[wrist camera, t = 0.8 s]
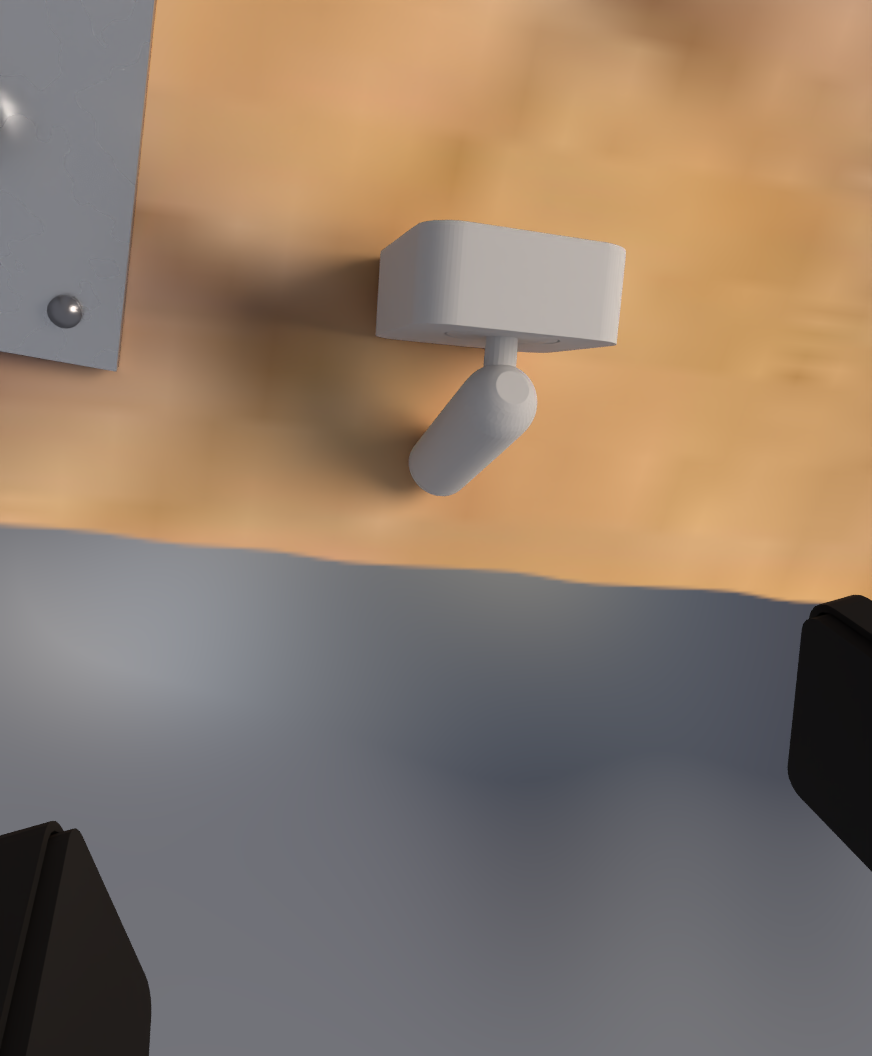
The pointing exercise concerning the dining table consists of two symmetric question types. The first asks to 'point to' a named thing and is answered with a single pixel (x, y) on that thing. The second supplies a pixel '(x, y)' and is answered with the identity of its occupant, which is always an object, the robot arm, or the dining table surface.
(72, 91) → the keeper
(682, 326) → the dining table surface
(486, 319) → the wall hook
